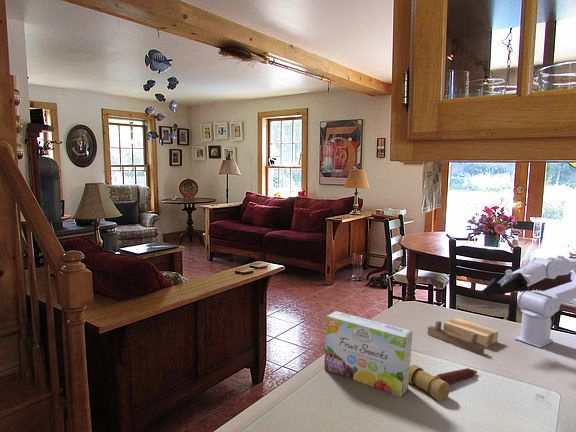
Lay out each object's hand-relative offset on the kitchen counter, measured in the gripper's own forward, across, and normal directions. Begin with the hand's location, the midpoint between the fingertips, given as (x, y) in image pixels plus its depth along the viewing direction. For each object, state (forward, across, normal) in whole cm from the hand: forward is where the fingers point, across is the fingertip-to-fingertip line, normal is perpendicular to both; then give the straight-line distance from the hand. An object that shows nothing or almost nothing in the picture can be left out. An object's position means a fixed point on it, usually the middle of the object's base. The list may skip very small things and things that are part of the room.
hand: (493, 292), depth 125 cm
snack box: (+49, 0, +6) cm, 50 cm away
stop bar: (+11, -13, +11) cm, 20 cm away
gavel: (+30, +6, +15) cm, 34 cm away
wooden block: (+3, -16, +12) cm, 21 cm away
